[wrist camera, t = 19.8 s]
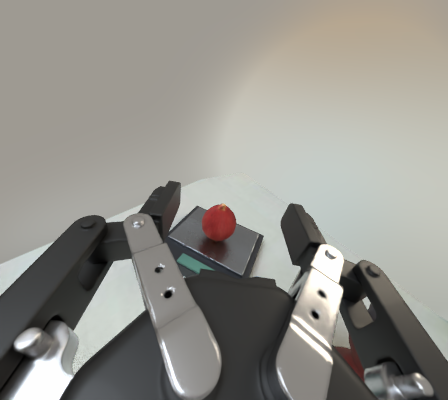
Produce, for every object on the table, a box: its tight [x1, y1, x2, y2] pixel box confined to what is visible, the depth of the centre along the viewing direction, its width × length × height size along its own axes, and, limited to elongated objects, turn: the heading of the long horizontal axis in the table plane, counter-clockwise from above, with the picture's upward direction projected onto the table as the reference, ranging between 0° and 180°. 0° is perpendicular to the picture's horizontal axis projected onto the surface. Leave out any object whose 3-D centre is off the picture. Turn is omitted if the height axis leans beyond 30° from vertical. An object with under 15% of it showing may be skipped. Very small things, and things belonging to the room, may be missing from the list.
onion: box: [202, 204, 236, 241], centre depth 28 cm, size 6×6×8 cm
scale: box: [164, 206, 264, 279], centre depth 31 cm, size 16×14×3 cm
